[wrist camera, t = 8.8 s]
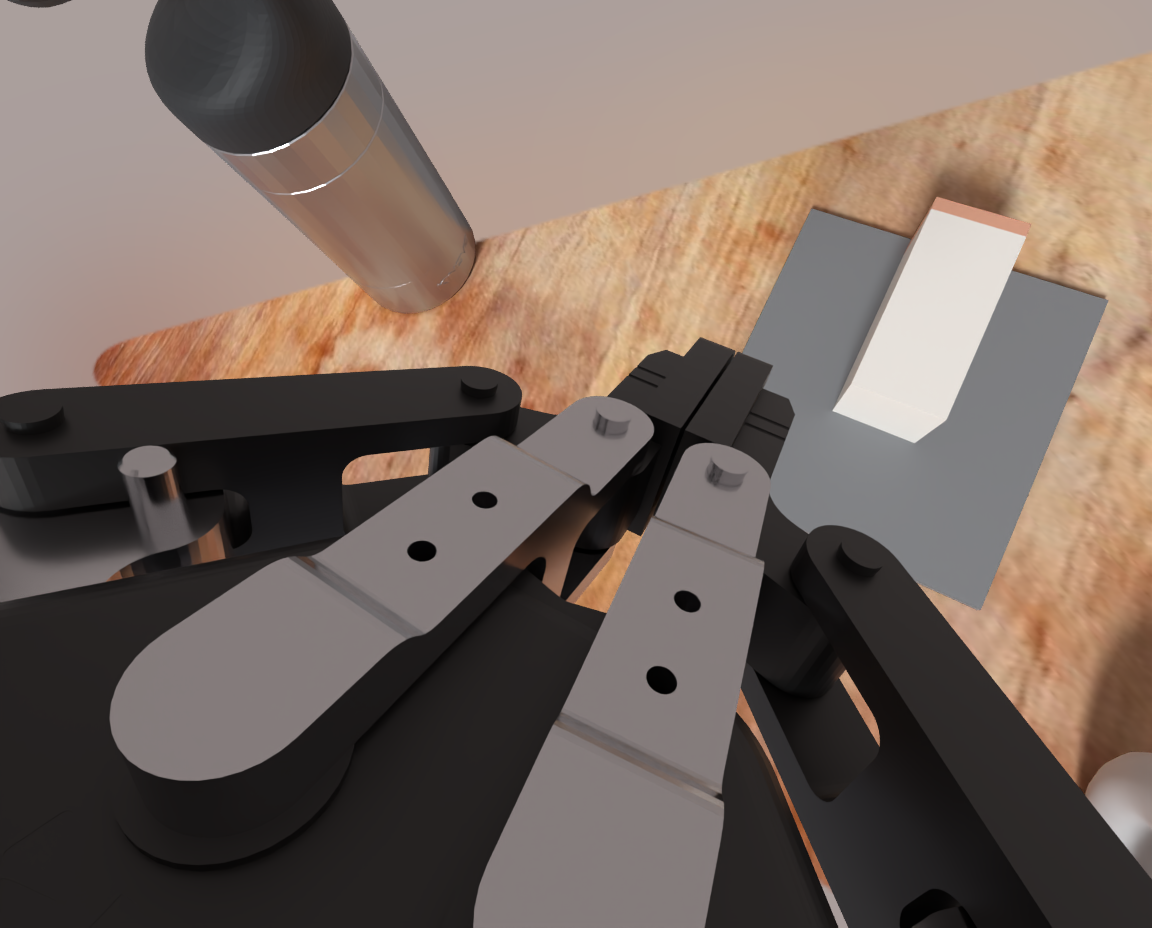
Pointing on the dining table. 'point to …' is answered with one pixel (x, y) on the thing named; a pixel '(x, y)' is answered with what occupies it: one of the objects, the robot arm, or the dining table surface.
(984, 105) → the dining table surface
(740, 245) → the dining table surface
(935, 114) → the dining table surface
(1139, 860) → the donut
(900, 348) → the block
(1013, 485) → the mat
